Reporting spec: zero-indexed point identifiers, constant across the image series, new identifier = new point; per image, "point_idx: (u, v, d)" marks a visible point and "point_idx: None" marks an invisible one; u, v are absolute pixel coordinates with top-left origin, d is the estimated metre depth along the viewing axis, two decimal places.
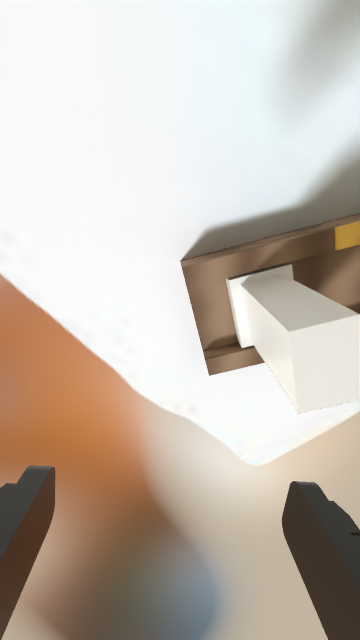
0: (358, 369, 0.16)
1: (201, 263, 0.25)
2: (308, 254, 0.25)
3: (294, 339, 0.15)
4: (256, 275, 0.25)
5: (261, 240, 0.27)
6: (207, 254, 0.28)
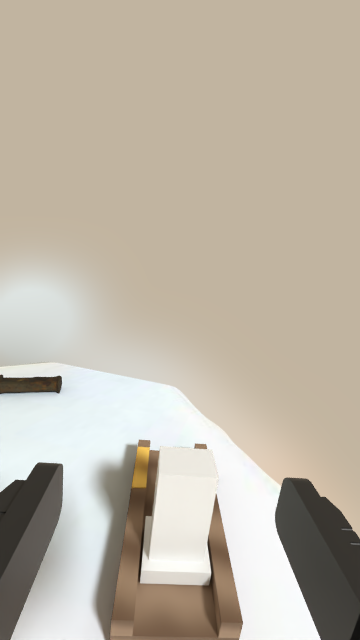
0: (192, 449, 0.30)
1: (116, 595, 0.26)
2: (142, 504, 0.35)
3: (165, 472, 0.27)
4: (145, 544, 0.30)
5: None
6: None
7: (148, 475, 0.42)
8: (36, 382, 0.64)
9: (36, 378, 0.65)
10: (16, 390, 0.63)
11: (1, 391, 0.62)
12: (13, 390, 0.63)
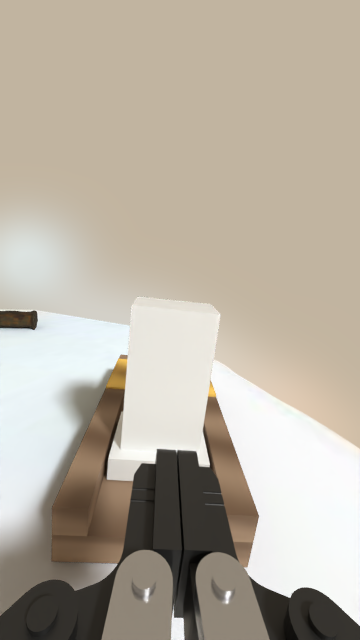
0: (182, 301, 0.22)
1: (65, 480, 0.17)
2: (118, 401, 0.26)
3: (141, 305, 0.18)
4: (117, 435, 0.22)
5: None
6: None
7: None
8: (6, 314, 0.55)
9: (6, 311, 0.56)
10: None
11: None
12: None
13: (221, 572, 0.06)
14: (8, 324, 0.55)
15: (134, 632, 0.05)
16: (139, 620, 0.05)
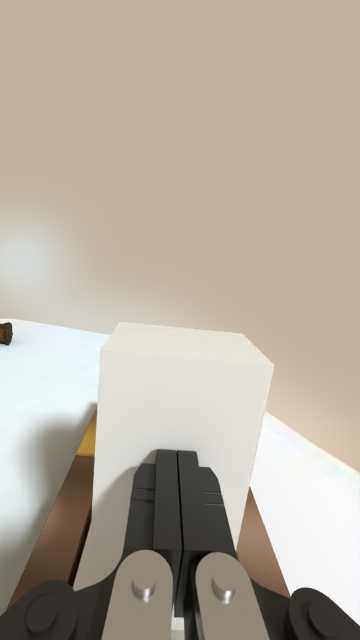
0: (195, 330, 0.13)
1: None
2: (92, 485, 0.17)
3: (120, 348, 0.09)
4: (86, 556, 0.13)
5: None
6: None
7: None
8: None
9: None
10: None
11: None
12: None
13: (221, 572, 0.06)
14: None
15: (134, 632, 0.05)
16: (140, 620, 0.05)
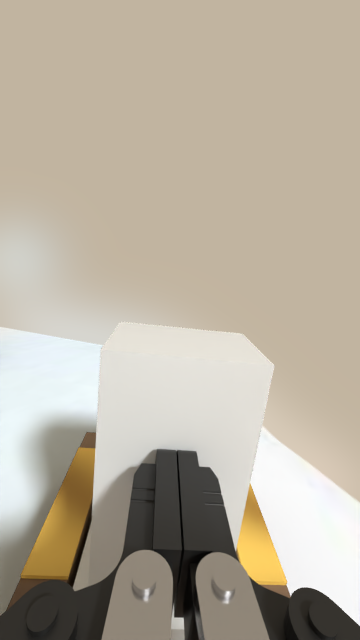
0: (196, 329, 0.13)
1: None
2: None
3: (120, 348, 0.09)
4: (86, 555, 0.13)
5: None
6: None
7: None
8: None
9: None
10: None
11: None
12: None
13: (221, 572, 0.06)
14: None
15: (134, 632, 0.05)
16: (140, 620, 0.05)
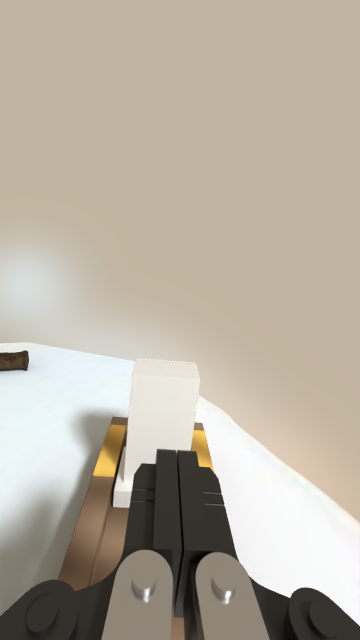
0: (172, 361, 0.27)
1: None
2: (105, 498, 0.24)
3: (139, 373, 0.24)
4: (121, 469, 0.27)
5: None
6: None
7: None
8: None
9: None
10: None
11: None
12: None
13: (221, 572, 0.06)
14: None
15: (134, 632, 0.05)
16: (140, 620, 0.05)
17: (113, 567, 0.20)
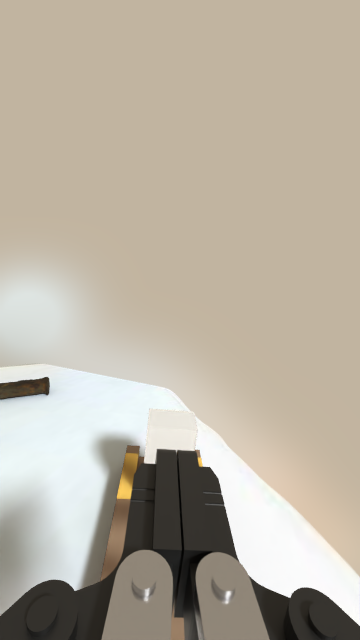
0: (176, 411, 0.36)
1: None
2: None
3: (152, 426, 0.32)
4: None
5: None
6: None
7: None
8: (23, 385, 0.60)
9: (22, 382, 0.61)
10: (1, 396, 0.59)
11: None
12: None
13: (221, 572, 0.06)
14: (25, 394, 0.61)
15: (134, 632, 0.05)
16: (140, 620, 0.05)
17: None
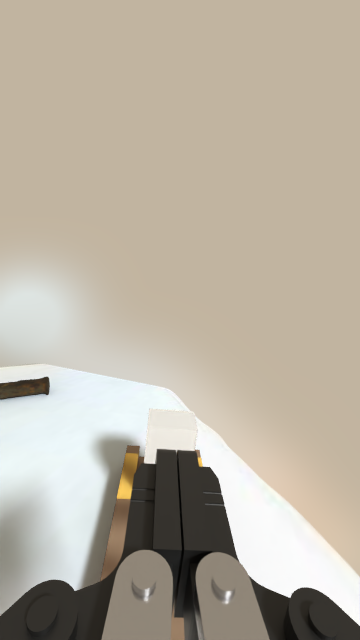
0: (176, 411, 0.36)
1: None
2: None
3: (152, 426, 0.32)
4: None
5: None
6: None
7: None
8: (23, 385, 0.60)
9: (22, 381, 0.61)
10: (1, 396, 0.59)
11: None
12: None
13: (221, 572, 0.06)
14: (25, 394, 0.61)
15: (134, 632, 0.05)
16: (140, 621, 0.05)
17: None
